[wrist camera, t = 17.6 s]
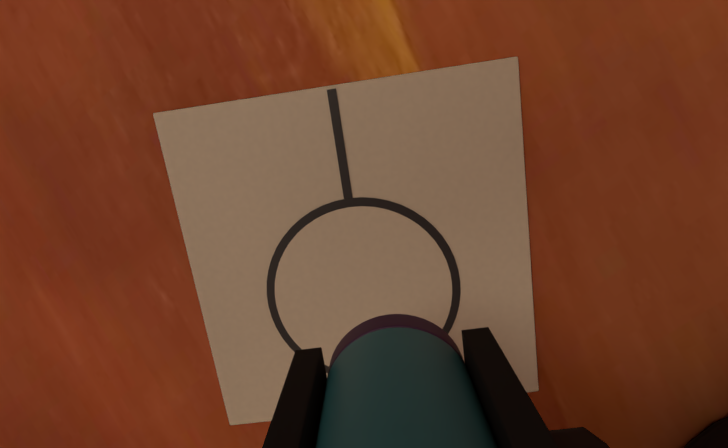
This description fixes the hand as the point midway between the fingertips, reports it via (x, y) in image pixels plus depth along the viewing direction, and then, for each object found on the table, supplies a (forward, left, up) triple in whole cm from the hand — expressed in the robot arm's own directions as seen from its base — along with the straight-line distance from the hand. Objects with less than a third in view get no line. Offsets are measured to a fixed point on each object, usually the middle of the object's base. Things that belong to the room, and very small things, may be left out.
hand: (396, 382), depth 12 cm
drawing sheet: (-2, 0, -13) cm, 14 cm away
